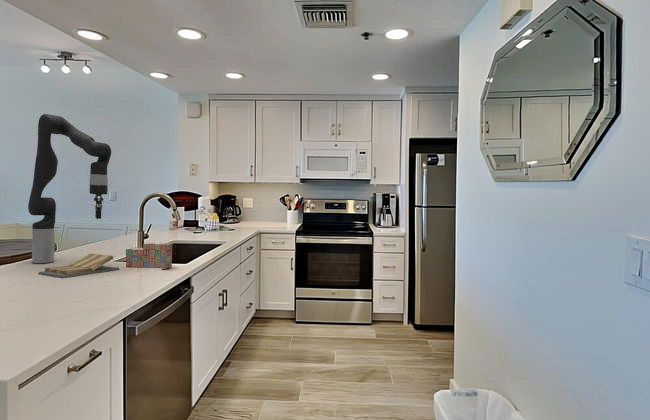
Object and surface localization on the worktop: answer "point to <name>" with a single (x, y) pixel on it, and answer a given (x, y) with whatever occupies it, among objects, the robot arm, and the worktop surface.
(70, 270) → the laid plank
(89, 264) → the board
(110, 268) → the underlay mat
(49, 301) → the worktop surface
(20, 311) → the worktop surface
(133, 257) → the stack of blocks
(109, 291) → the worktop surface
